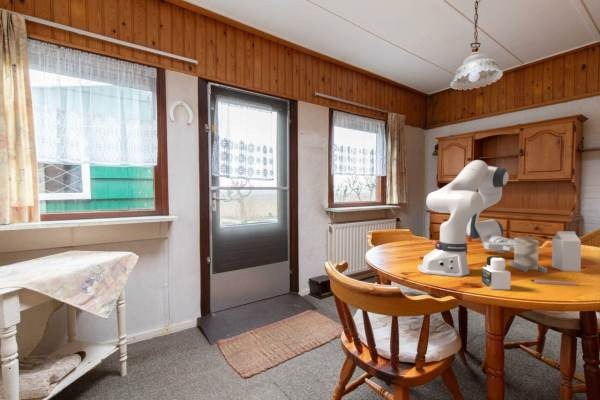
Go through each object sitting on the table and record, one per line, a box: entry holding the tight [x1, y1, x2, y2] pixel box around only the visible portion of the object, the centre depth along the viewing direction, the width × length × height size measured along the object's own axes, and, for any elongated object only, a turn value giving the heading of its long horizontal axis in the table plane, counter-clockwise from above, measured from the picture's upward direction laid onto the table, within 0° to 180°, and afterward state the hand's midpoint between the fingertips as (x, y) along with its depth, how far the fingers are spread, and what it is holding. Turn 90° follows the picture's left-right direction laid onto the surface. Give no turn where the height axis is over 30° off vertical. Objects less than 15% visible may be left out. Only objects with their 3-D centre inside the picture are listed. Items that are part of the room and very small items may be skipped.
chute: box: [508, 260, 578, 286], centre depth 125 cm, size 14×27×3 cm, turn 167°
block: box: [513, 236, 539, 271], centre depth 133 cm, size 6×8×14 cm
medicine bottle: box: [481, 255, 512, 291], centre depth 110 cm, size 7×7×12 cm
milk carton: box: [551, 230, 582, 273], centre depth 130 cm, size 7×7×19 cm
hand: (512, 249), depth 145 cm, fingers closed
